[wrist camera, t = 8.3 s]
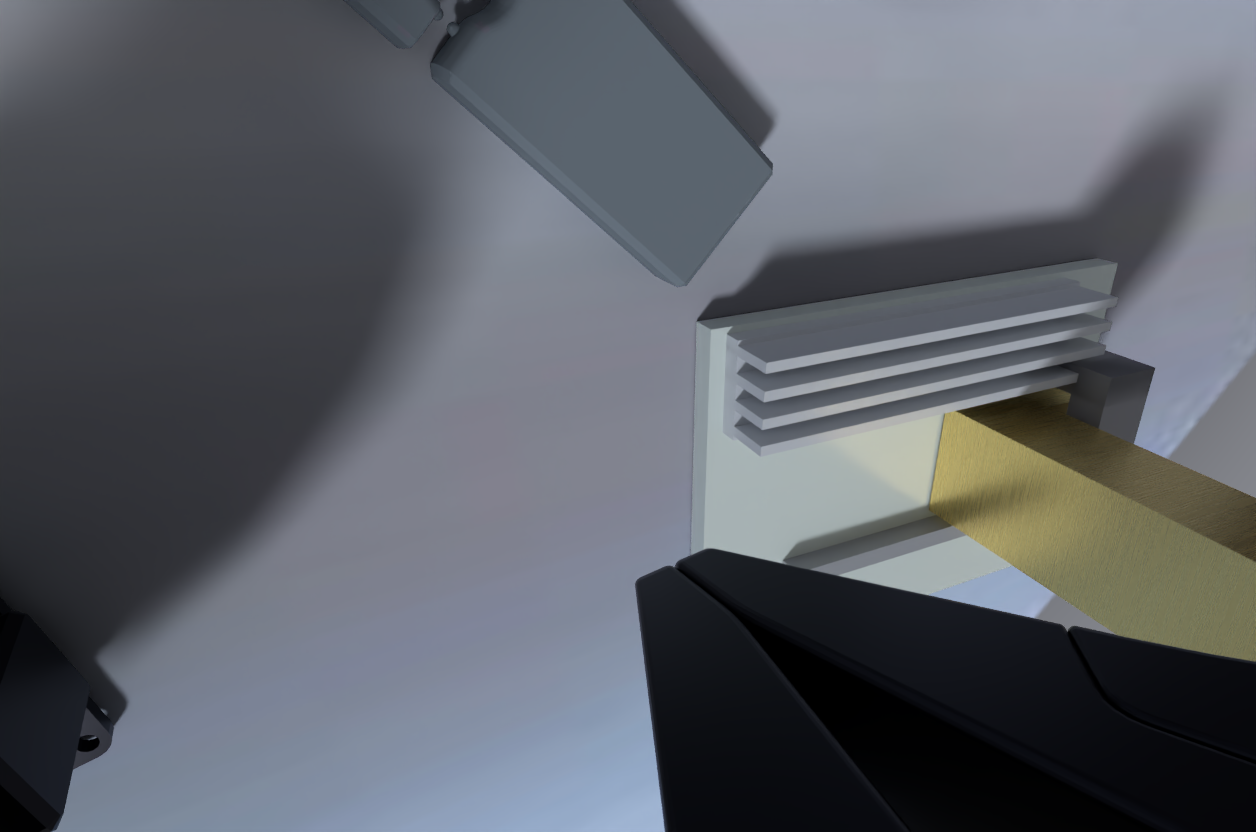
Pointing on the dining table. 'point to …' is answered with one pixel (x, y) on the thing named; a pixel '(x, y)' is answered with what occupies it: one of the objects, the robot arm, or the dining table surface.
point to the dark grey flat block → (598, 117)
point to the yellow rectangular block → (1103, 523)
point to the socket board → (886, 414)
